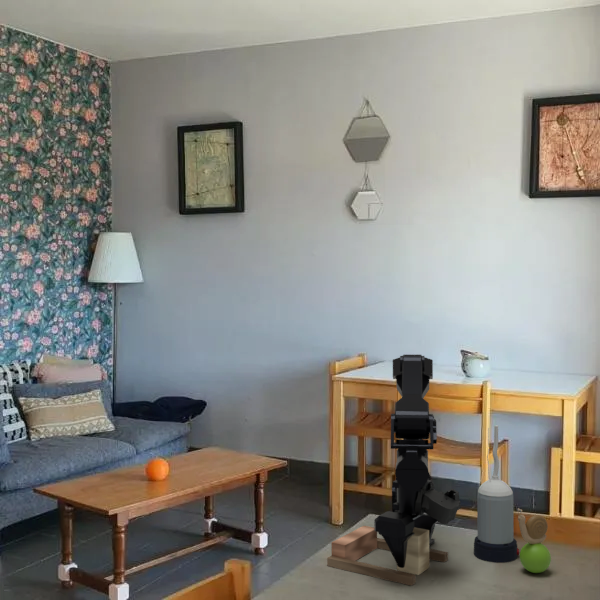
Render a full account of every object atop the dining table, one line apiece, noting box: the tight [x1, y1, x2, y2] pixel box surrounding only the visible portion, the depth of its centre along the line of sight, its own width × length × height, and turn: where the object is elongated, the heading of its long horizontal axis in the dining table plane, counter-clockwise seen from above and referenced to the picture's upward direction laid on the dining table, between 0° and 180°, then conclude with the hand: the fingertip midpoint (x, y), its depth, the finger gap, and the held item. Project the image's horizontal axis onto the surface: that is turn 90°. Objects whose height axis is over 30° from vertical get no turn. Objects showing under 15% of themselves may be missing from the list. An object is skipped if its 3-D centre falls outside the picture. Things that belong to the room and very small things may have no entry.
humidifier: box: [473, 424, 520, 564], centre depth 155 cm, size 8×8×25 cm
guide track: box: [326, 525, 449, 586], centre depth 152 cm, size 15×18×4 cm
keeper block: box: [396, 527, 430, 576], centre depth 148 cm, size 4×4×7 cm
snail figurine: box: [516, 508, 552, 574], centre depth 146 cm, size 5×6×12 cm
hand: (413, 559), depth 149 cm, fingers open, 9 cm apart
